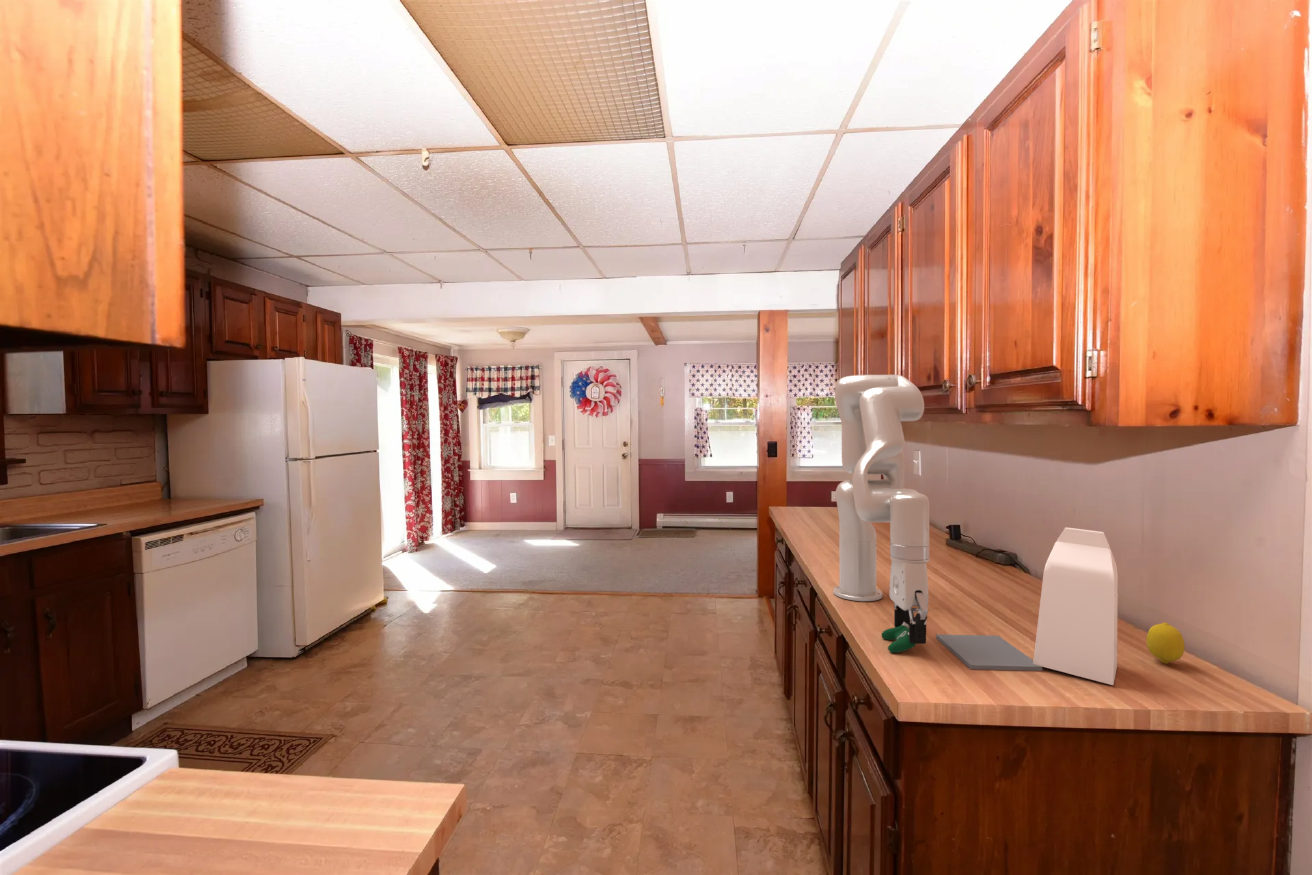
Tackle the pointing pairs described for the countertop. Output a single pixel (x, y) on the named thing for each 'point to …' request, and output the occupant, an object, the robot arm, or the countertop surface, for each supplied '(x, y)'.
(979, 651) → the slate mat
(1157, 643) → the lemon
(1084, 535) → the milk
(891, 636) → the gaming controller
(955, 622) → the countertop surface
